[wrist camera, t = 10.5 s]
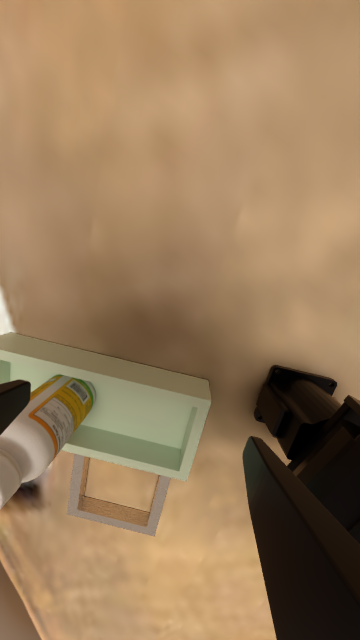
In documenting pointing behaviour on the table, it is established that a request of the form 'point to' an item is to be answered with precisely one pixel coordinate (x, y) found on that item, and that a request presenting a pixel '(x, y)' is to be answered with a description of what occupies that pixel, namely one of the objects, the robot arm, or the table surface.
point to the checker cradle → (110, 511)
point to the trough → (119, 404)
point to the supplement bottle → (42, 430)
